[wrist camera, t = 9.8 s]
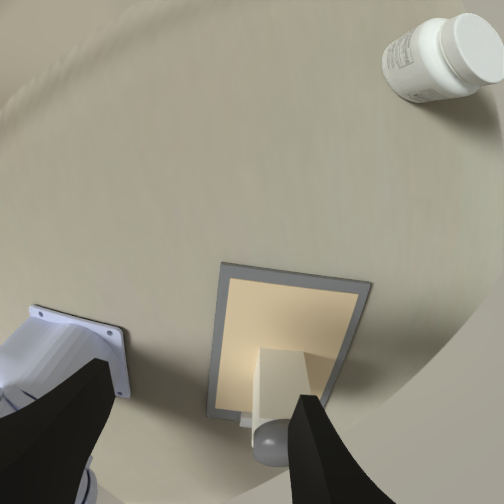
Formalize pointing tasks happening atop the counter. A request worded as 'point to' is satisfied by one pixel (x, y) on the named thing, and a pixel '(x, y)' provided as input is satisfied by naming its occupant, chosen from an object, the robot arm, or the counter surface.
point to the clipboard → (278, 330)
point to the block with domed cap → (276, 402)
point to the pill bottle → (444, 59)
